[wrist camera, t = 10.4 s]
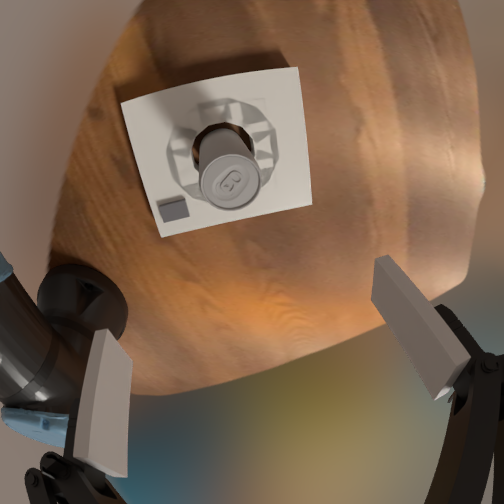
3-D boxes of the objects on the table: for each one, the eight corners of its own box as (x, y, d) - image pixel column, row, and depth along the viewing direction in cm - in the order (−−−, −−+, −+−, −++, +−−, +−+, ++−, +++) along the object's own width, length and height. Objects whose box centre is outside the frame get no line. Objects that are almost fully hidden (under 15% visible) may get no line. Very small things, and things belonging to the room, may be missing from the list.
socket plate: (163, 227, 35) (160, 240, 32) (126, 101, 26) (119, 103, 24) (305, 196, 36) (313, 206, 33) (290, 67, 27) (299, 66, 24)
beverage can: (190, 151, 31) (184, 188, 21) (219, 118, 29) (228, 138, 19) (223, 176, 33) (234, 224, 23) (251, 145, 31) (276, 179, 21)
